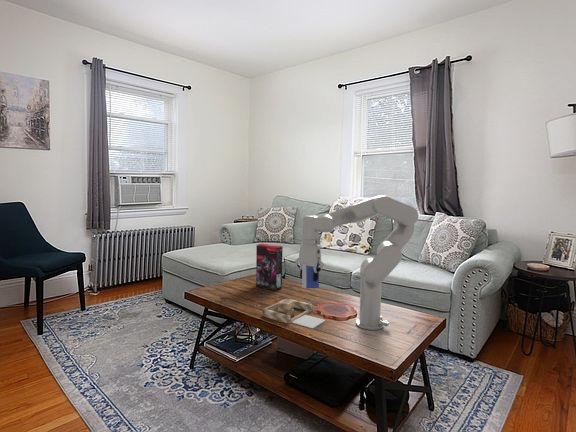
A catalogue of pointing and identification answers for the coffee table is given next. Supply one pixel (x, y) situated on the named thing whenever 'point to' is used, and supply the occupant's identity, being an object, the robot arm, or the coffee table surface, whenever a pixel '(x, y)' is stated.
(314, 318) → the mat
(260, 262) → the graphics card box
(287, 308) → the offcut upper
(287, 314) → the offcut lower
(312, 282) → the walkman
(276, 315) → the rack
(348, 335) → the coffee table surface
